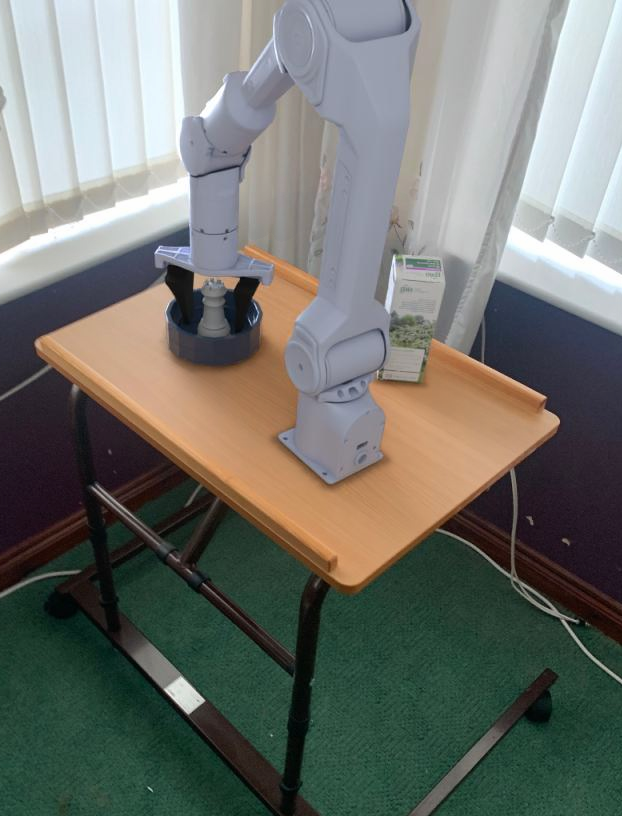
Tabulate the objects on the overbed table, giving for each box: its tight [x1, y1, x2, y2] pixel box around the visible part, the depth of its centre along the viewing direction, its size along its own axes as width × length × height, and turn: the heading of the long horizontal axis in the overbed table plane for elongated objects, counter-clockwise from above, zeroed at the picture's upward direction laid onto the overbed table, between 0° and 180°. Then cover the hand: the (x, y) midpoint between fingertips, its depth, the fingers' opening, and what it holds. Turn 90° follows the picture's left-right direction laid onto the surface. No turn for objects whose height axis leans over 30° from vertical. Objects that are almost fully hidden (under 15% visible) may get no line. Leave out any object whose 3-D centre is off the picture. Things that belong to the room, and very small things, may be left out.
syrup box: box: [376, 253, 447, 384], centre depth 95 cm, size 6×6×14 cm
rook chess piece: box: [197, 277, 231, 338], centre depth 101 cm, size 4×4×8 cm
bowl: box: [164, 287, 264, 367], centre depth 102 cm, size 12×12×4 cm
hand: (214, 324), depth 102 cm, fingers open, 6 cm apart
